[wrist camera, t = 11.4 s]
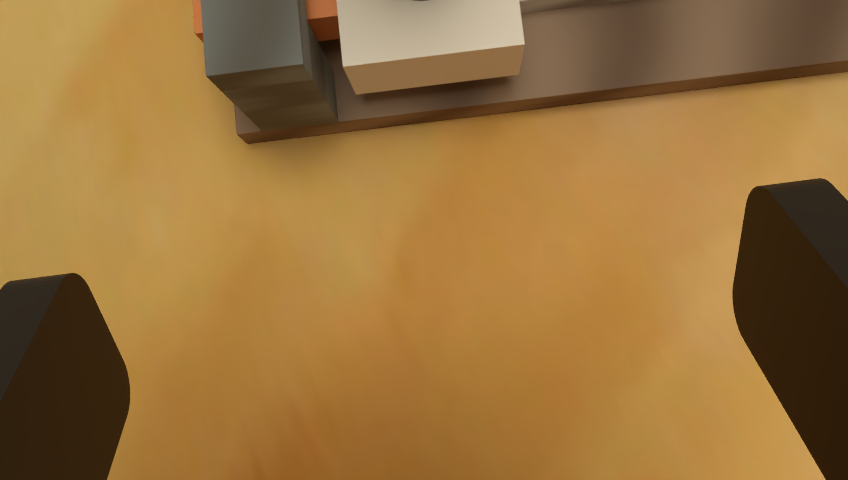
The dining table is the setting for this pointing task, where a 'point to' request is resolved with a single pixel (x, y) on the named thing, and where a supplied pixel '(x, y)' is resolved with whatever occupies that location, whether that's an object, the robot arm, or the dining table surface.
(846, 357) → the robot arm
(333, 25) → the reset pin
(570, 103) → the rail board
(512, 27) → the carriage
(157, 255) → the dining table surface
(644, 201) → the dining table surface
